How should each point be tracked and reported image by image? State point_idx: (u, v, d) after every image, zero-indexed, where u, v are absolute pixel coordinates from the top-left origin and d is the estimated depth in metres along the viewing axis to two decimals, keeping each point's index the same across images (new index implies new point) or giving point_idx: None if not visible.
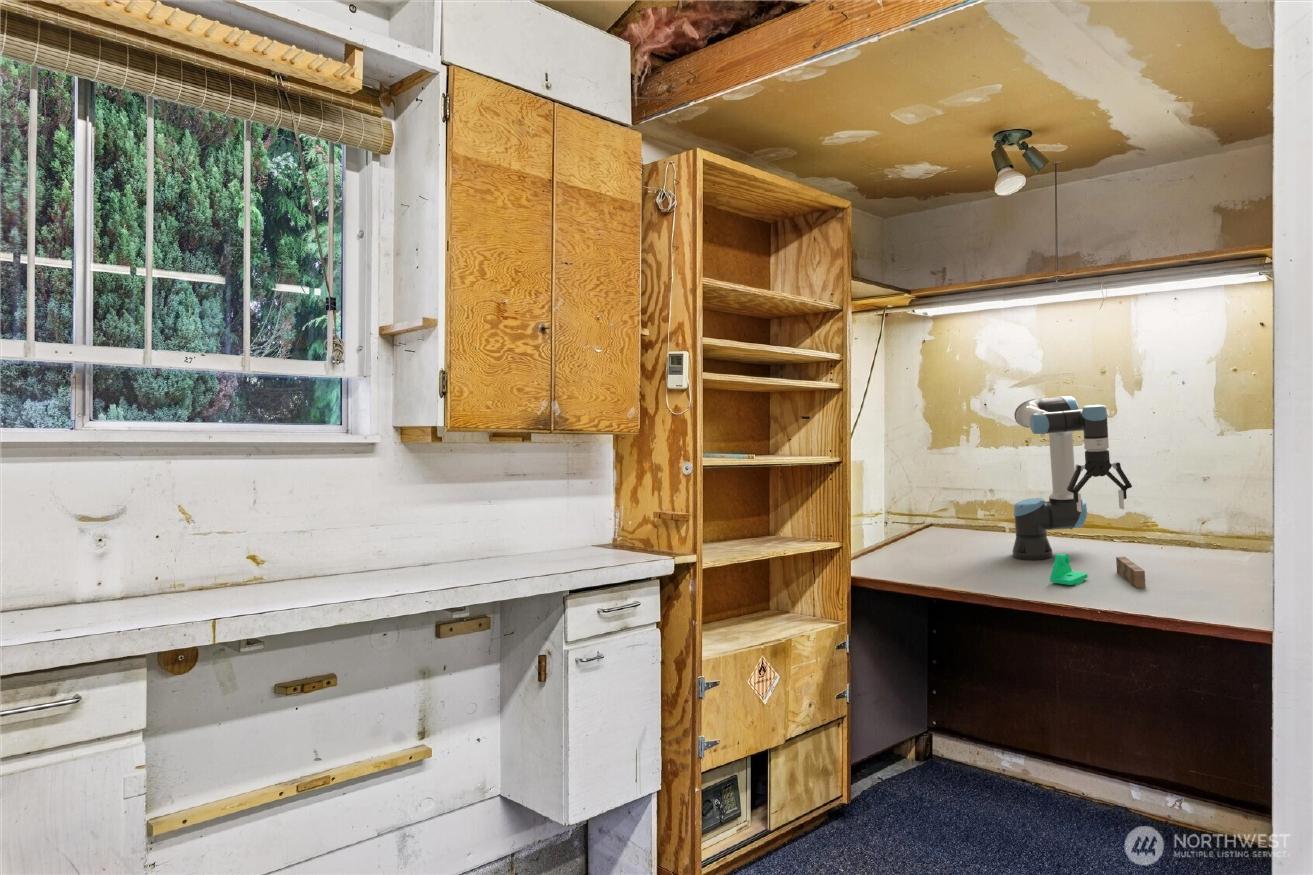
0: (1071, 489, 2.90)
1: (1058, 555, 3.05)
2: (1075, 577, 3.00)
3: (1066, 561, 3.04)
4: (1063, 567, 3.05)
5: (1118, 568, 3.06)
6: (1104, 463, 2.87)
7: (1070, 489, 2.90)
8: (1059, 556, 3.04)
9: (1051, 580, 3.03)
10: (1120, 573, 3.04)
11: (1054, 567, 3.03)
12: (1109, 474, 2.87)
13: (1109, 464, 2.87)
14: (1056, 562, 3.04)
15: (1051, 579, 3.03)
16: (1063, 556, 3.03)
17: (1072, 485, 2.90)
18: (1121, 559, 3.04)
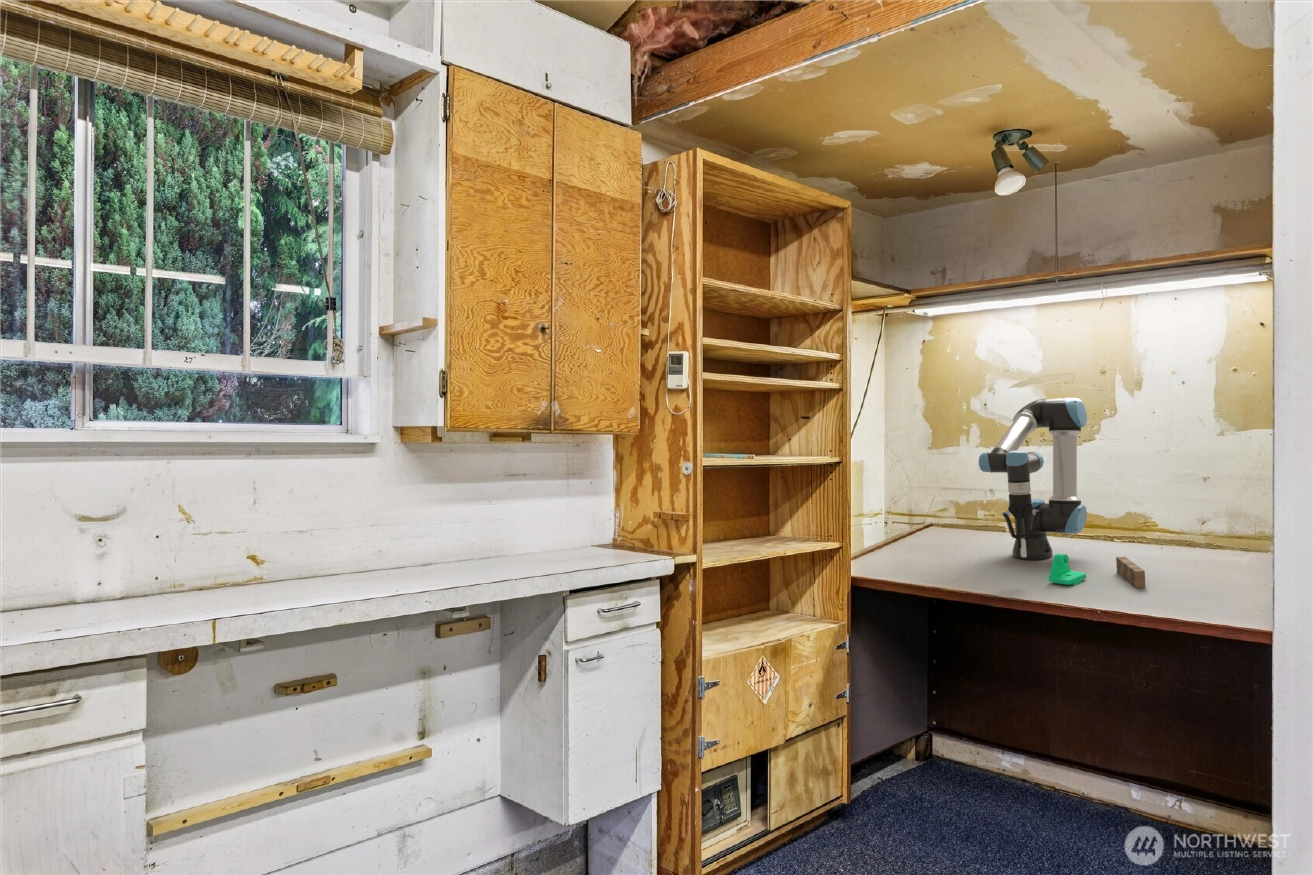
0: (1014, 535, 3.04)
1: (1057, 555, 3.05)
2: (1074, 577, 3.00)
3: (1065, 561, 3.05)
4: (1062, 567, 3.06)
5: (1118, 568, 3.06)
6: (1029, 504, 3.02)
7: (1013, 536, 3.04)
8: (1058, 555, 3.05)
9: (1050, 580, 3.03)
10: (1120, 573, 3.04)
11: (1053, 567, 3.04)
12: (1025, 518, 3.03)
13: (1031, 508, 3.02)
14: (1055, 562, 3.04)
15: (1050, 579, 3.03)
16: (1062, 556, 3.03)
17: (1012, 532, 3.04)
18: (1121, 559, 3.04)
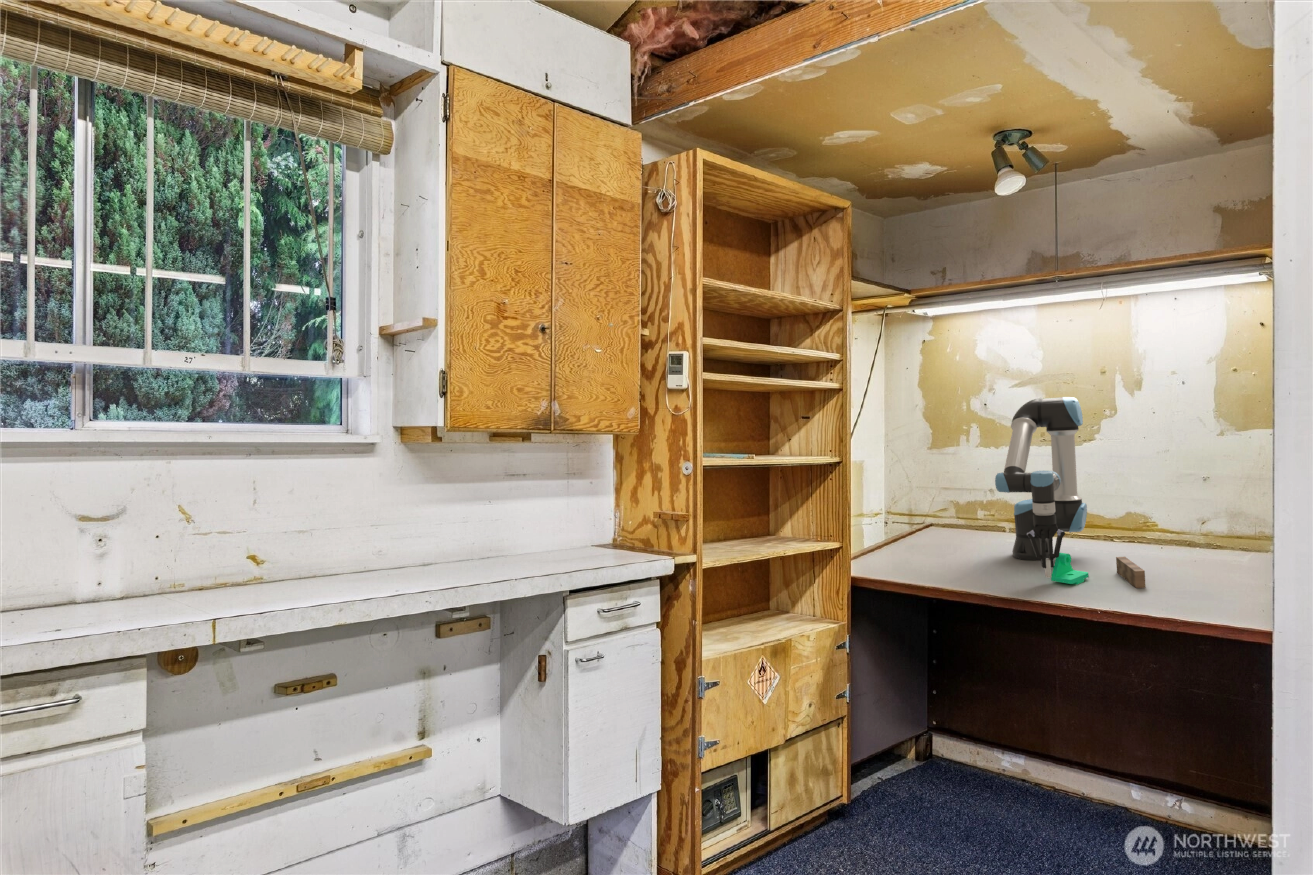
0: (1038, 555, 3.04)
1: (1059, 554, 3.05)
2: (1076, 576, 3.00)
3: (1067, 560, 3.05)
4: (1064, 566, 3.06)
5: (1118, 568, 3.06)
6: (1053, 525, 3.02)
7: (1038, 556, 3.04)
8: (1060, 555, 3.05)
9: (1052, 579, 3.04)
10: (1120, 573, 3.04)
11: (1055, 566, 3.04)
12: (1050, 539, 3.02)
13: (1056, 528, 3.01)
14: (1057, 561, 3.04)
15: (1052, 578, 3.04)
16: (1064, 555, 3.04)
17: (1036, 552, 3.04)
18: (1121, 559, 3.04)
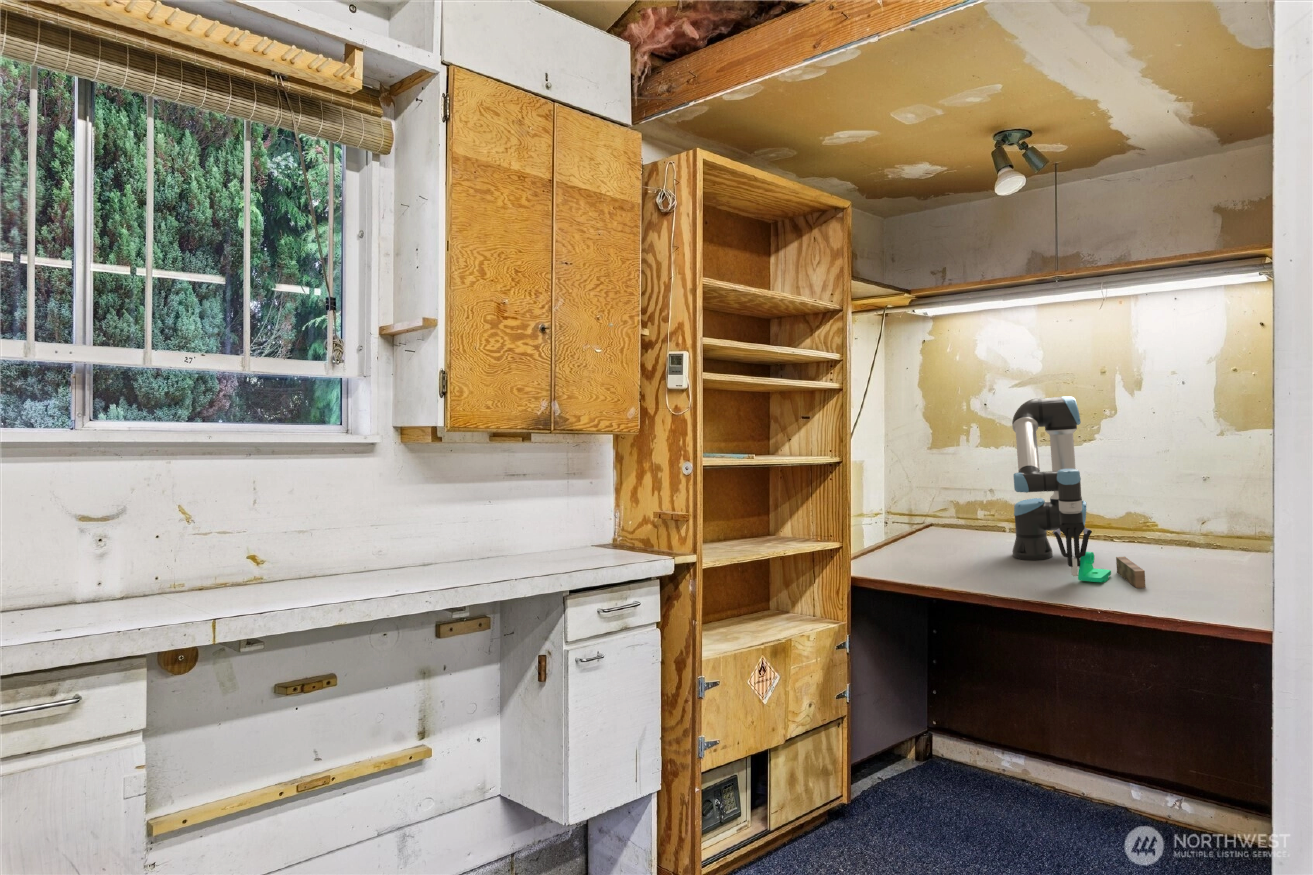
0: (1065, 554, 3.02)
1: None
2: (1103, 575, 2.99)
3: (1091, 558, 3.04)
4: (1088, 565, 3.04)
5: (1118, 568, 3.06)
6: (1080, 523, 3.00)
7: (1064, 554, 3.02)
8: None
9: (1079, 578, 3.01)
10: (1120, 573, 3.04)
11: (1081, 565, 3.02)
12: (1077, 537, 3.00)
13: (1083, 527, 2.99)
14: (1082, 560, 3.02)
15: (1079, 577, 3.01)
16: (1089, 554, 3.02)
17: (1063, 550, 3.02)
18: (1121, 559, 3.04)
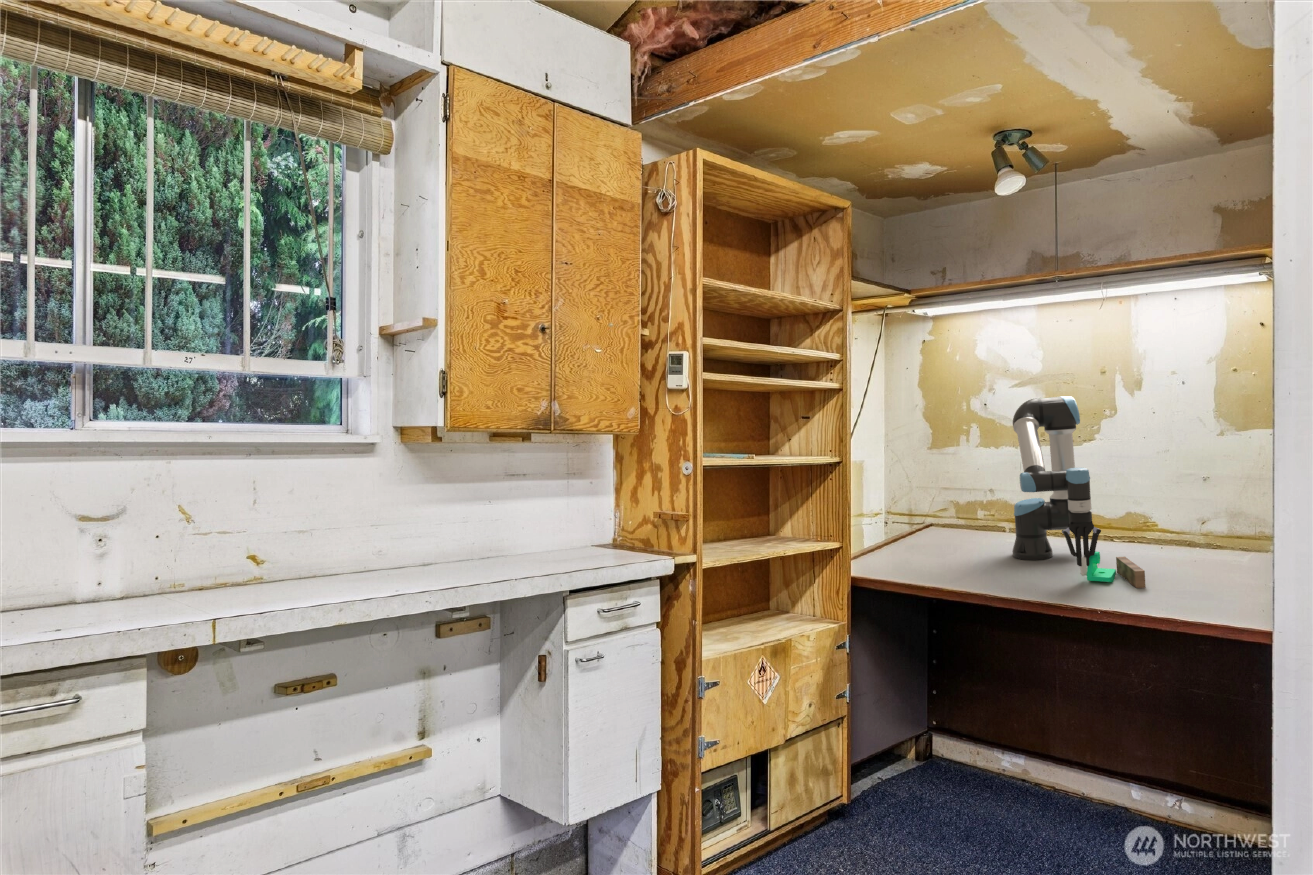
0: (1074, 553, 3.01)
1: None
2: (1111, 574, 2.99)
3: None
4: (1094, 564, 3.04)
5: (1118, 568, 3.06)
6: (1089, 522, 2.99)
7: (1073, 554, 3.01)
8: None
9: (1088, 578, 3.00)
10: (1120, 573, 3.04)
11: (1089, 565, 3.01)
12: (1086, 536, 2.99)
13: (1092, 526, 2.99)
14: (1090, 560, 3.01)
15: (1088, 577, 2.99)
16: (1096, 553, 3.01)
17: (1072, 550, 3.01)
18: (1121, 559, 3.04)
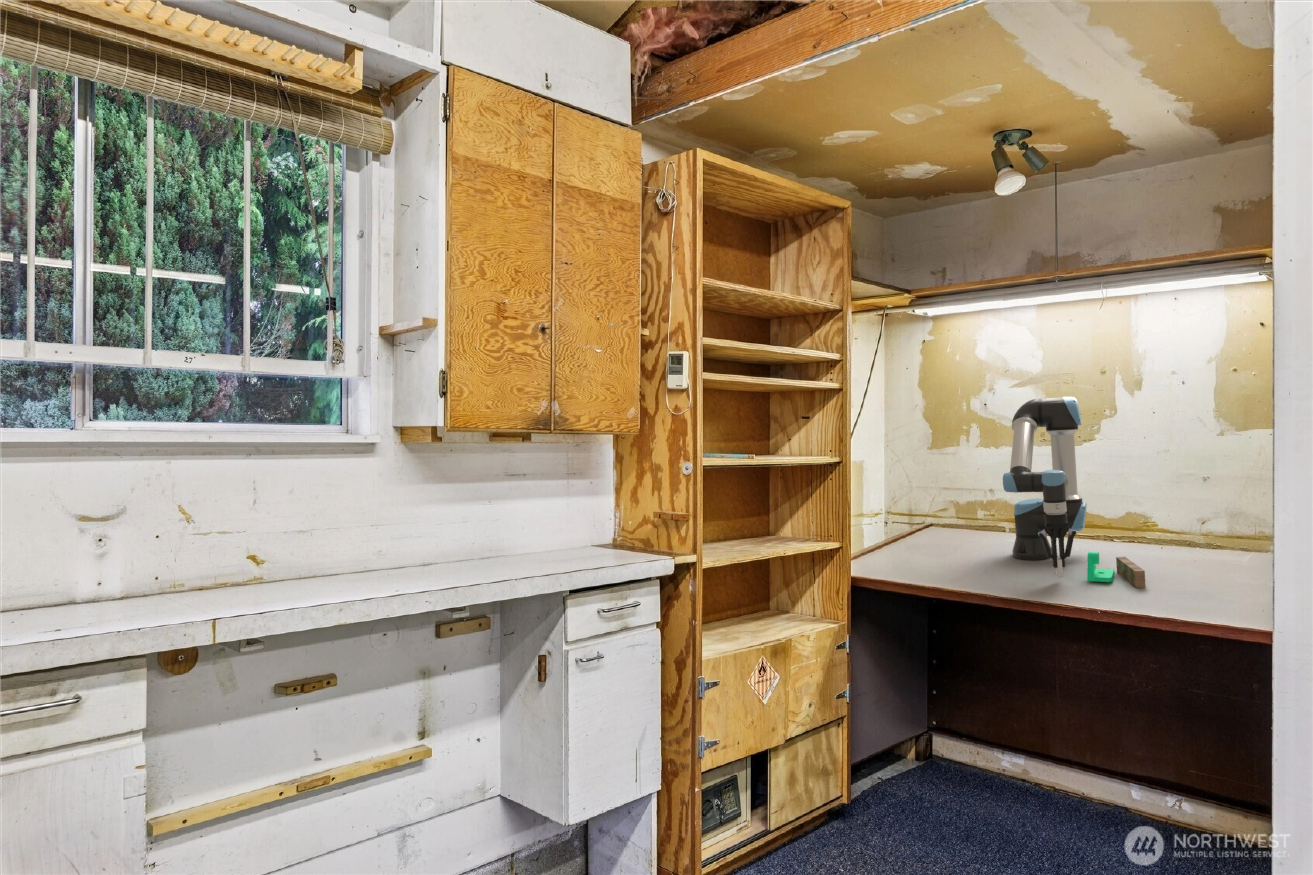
0: (1050, 555, 3.03)
1: (1090, 553, 3.03)
2: (1110, 574, 2.99)
3: None
4: (1093, 565, 3.04)
5: (1118, 568, 3.06)
6: (1065, 524, 3.01)
7: (1049, 556, 3.03)
8: (1092, 554, 3.02)
9: (1088, 579, 2.99)
10: (1120, 573, 3.04)
11: (1089, 566, 3.01)
12: (1061, 538, 3.01)
13: (1068, 528, 3.01)
14: (1090, 560, 3.01)
15: (1088, 578, 2.99)
16: (1096, 554, 3.01)
17: (1048, 551, 3.03)
18: (1121, 559, 3.04)
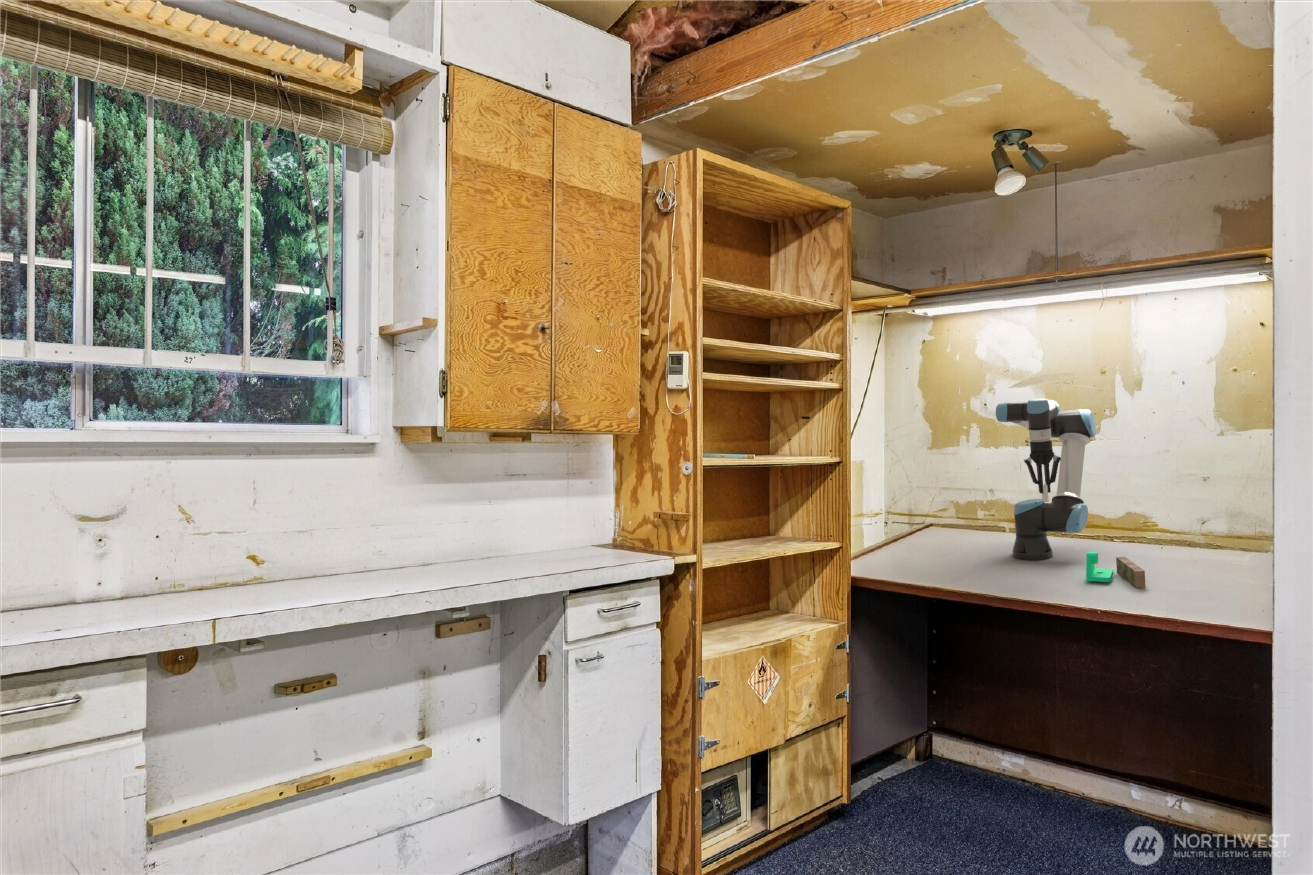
0: (1036, 481, 3.13)
1: (1089, 553, 3.03)
2: (1109, 574, 2.99)
3: None
4: (1092, 565, 3.04)
5: (1118, 568, 3.06)
6: (1050, 450, 3.11)
7: (1035, 482, 3.13)
8: (1090, 553, 3.02)
9: (1087, 579, 3.00)
10: (1120, 573, 3.04)
11: (1088, 566, 3.01)
12: (1047, 464, 3.11)
13: (1053, 454, 3.11)
14: (1089, 560, 3.02)
15: (1087, 578, 3.00)
16: (1095, 554, 3.02)
17: (1034, 478, 3.13)
18: (1121, 559, 3.04)
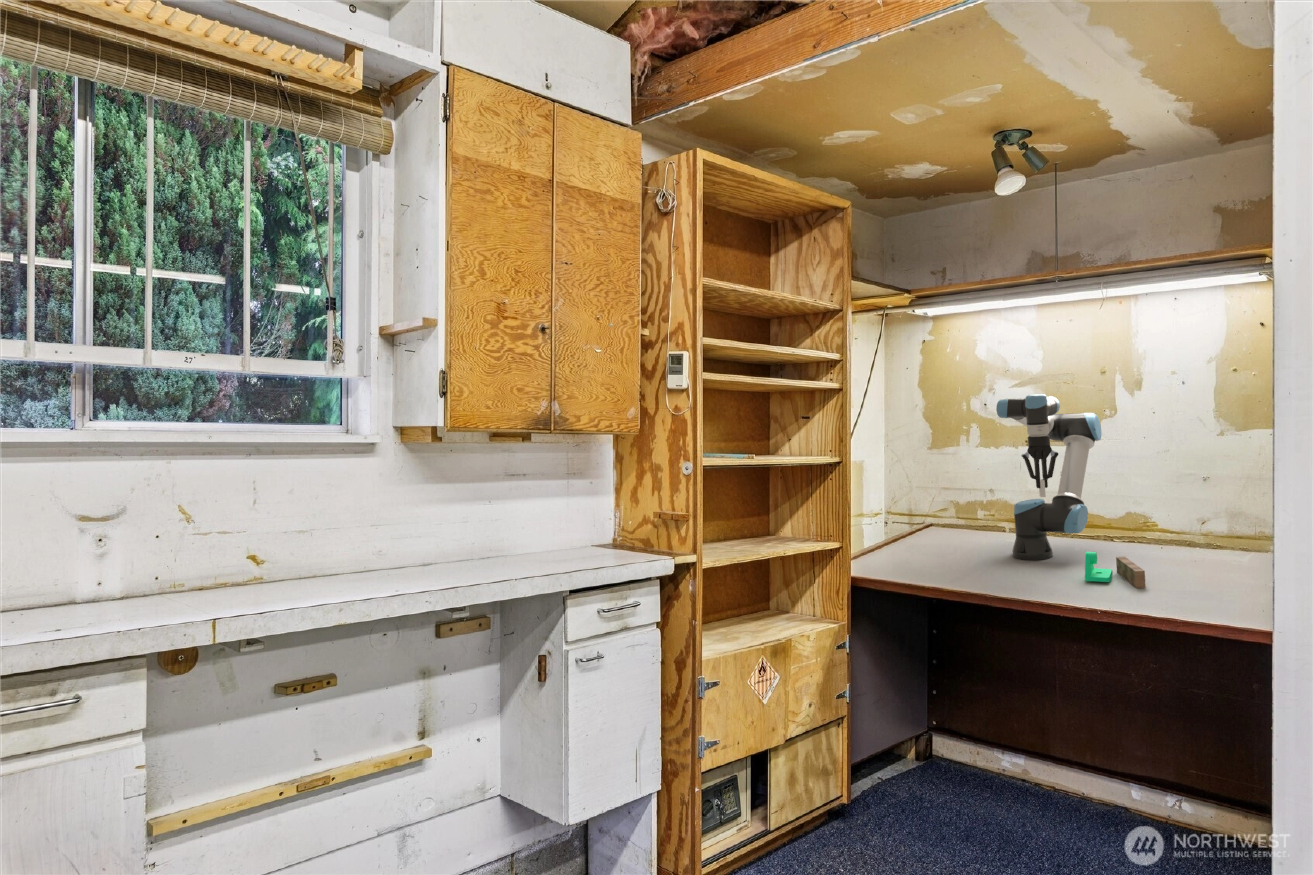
0: (1033, 476, 3.15)
1: (1088, 553, 3.03)
2: (1108, 574, 3.00)
3: None
4: (1091, 565, 3.04)
5: (1118, 568, 3.06)
6: (1047, 446, 3.13)
7: (1032, 476, 3.15)
8: (1089, 553, 3.02)
9: (1086, 579, 3.00)
10: (1120, 573, 3.04)
11: (1087, 566, 3.01)
12: (1044, 459, 3.13)
13: (1050, 449, 3.13)
14: (1088, 560, 3.02)
15: (1086, 578, 3.00)
16: (1094, 554, 3.02)
17: (1031, 472, 3.15)
18: (1121, 559, 3.04)
